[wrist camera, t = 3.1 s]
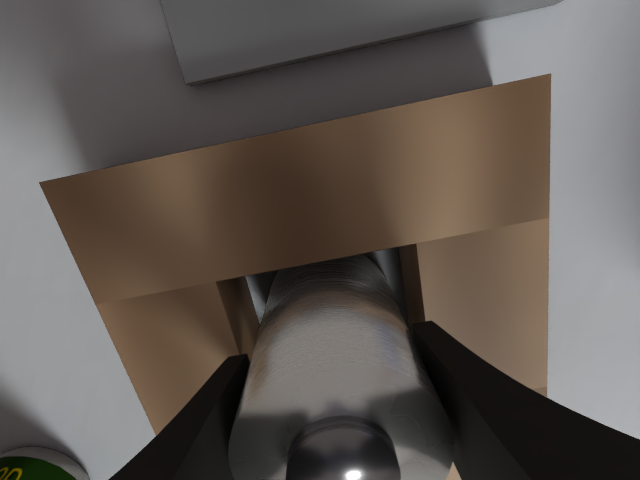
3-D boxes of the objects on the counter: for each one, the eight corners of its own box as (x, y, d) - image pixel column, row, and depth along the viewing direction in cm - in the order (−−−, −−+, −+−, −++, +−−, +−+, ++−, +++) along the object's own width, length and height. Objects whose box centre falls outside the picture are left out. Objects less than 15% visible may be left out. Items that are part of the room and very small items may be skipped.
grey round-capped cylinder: (380, 234, 13) (454, 360, 6) (397, 342, 15) (471, 541, 8) (255, 259, 14) (189, 406, 7) (284, 362, 15) (257, 572, 8)
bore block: (493, 85, 12) (551, 73, 9) (505, 406, 16) (546, 467, 13) (102, 168, 12) (38, 182, 10) (215, 454, 17) (195, 521, 14)
